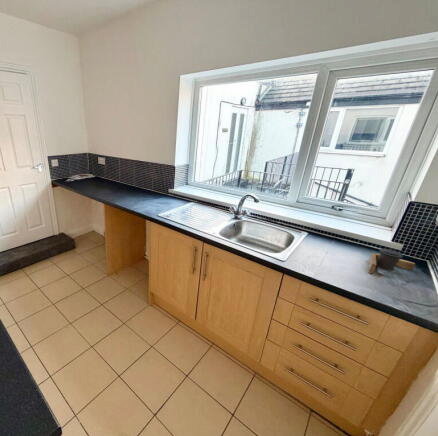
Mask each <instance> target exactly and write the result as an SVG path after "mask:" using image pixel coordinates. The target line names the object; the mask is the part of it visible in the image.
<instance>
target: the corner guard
mask: <svg viewBox="0 0 438 436" xmlns="http://www.w3.org/2000/svg"><path fill="white" fill-rule="evenodd" d="M379 255H380V253H375V252H371V253H370V256H369V257H368V260H367V262H368V264H367V265H368V273H369V274H372V275H373V274H374V272H375V269H376V268H377V263H378V259H379ZM415 265H416V263H415V262H412V261H409V260H405V259H402V258H400V260H399V261H398V262H397V264H396V265H395V267H398V268H401V269H405V270H406V269H407V270H409V271H413V270H414V267H415Z"/></svg>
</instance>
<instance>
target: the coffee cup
mask: <svg viewBox="0 0 438 436" xmlns="http://www.w3.org/2000/svg"><path fill="white" fill-rule="evenodd" d="M379 254H380V255H379V259H378V261H377V264H376V266H377V267H380V268H381V269H384V270H388V271H389V270H390V271H392V270H393V269H395V267H396V266H395V265H396V264H397V262H398V261H399V260H400V259H402V258H404V255H403V254H402V253H400V252H399V251H397V250H394V249H390V248H381V249H379Z"/></svg>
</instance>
